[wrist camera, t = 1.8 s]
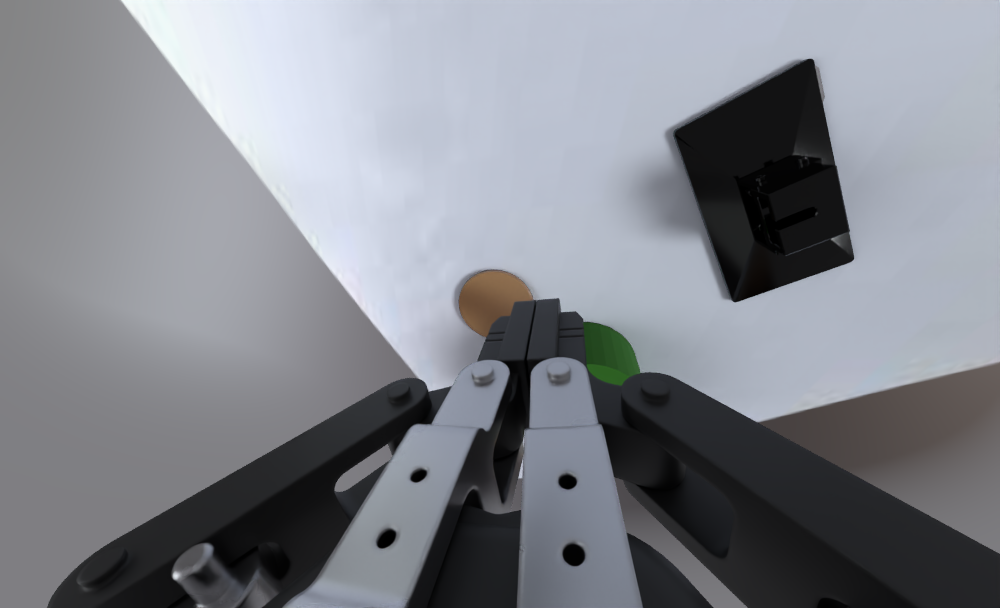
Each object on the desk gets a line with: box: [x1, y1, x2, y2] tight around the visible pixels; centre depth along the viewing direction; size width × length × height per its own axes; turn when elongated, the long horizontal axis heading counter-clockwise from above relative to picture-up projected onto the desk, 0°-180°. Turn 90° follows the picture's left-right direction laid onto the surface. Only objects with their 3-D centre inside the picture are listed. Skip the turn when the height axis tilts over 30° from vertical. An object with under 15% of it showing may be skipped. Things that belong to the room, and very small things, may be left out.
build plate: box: [673, 59, 854, 302], centre depth 20 cm, size 12×7×5 cm, turn 30°
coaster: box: [459, 270, 533, 337], centre depth 28 cm, size 6×6×1 cm
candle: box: [583, 322, 640, 386], centre depth 25 cm, size 8×8×10 cm
